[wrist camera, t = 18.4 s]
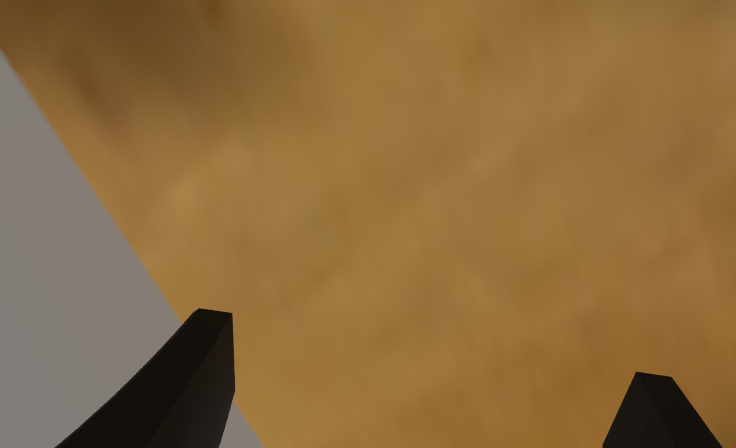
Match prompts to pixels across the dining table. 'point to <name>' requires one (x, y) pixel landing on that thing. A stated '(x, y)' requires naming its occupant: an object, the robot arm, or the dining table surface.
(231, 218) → the dining table surface
